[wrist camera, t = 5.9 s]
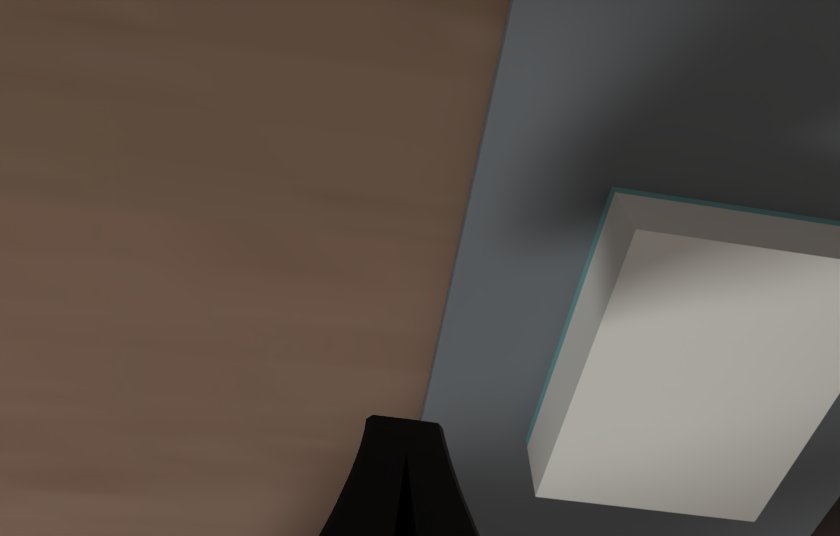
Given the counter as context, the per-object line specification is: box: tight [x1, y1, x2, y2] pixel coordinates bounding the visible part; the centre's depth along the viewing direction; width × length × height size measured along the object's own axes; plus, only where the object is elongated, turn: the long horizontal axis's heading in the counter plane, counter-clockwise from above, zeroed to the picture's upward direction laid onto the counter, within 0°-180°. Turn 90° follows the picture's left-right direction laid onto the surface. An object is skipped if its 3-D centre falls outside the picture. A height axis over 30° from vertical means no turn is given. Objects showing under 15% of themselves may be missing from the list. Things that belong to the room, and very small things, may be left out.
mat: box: [420, 0, 840, 536], centre depth 17 cm, size 17×13×1 cm
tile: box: [526, 187, 840, 522], centre depth 16 cm, size 8×2×6 cm
